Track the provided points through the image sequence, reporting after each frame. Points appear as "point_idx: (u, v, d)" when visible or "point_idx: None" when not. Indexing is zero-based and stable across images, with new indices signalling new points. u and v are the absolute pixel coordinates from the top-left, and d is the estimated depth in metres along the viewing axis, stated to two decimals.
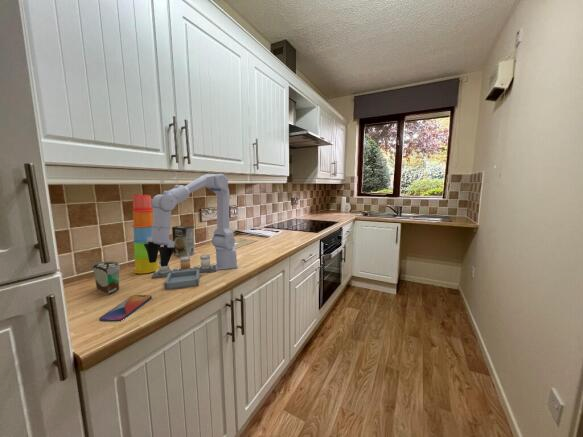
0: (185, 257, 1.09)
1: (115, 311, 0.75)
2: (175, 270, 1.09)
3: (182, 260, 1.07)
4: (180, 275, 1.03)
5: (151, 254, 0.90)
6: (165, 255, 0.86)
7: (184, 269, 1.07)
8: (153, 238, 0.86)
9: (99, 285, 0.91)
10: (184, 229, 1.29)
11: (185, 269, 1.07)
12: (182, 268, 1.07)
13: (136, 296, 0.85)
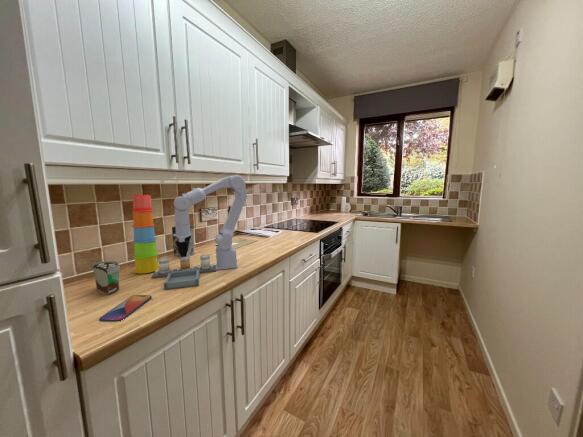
0: (185, 257, 1.09)
1: (115, 311, 0.75)
2: (175, 270, 1.09)
3: (182, 260, 1.07)
4: (180, 275, 1.03)
5: None
6: (182, 247, 1.03)
7: (184, 269, 1.07)
8: (176, 233, 1.05)
9: (99, 285, 0.91)
10: None
11: (185, 269, 1.07)
12: (182, 268, 1.07)
13: (136, 296, 0.85)
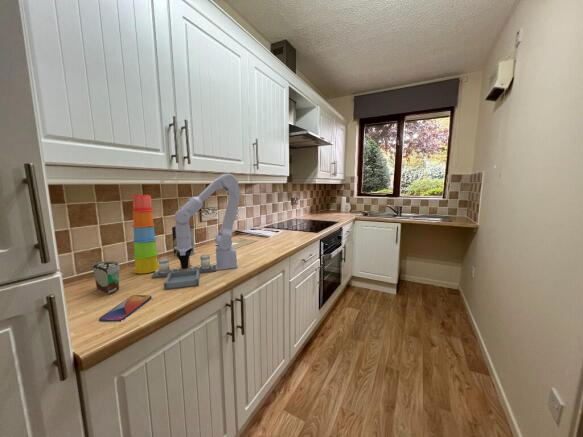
0: None
1: (115, 311, 0.75)
2: (175, 270, 1.09)
3: None
4: (180, 275, 1.03)
5: None
6: (183, 259, 1.06)
7: (184, 269, 1.07)
8: (177, 246, 1.06)
9: (99, 285, 0.91)
10: None
11: (185, 269, 1.07)
12: None
13: (136, 296, 0.85)
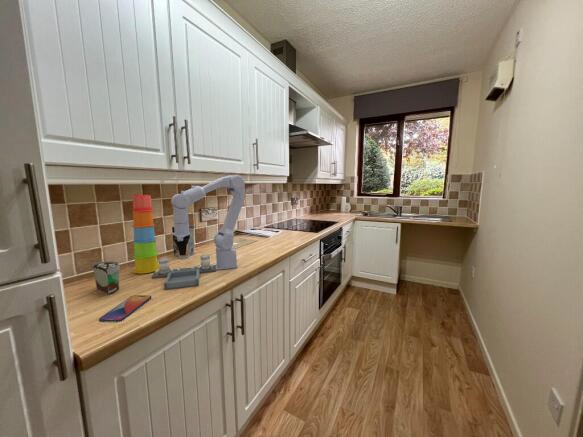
0: None
1: (115, 312, 0.75)
2: (175, 270, 1.09)
3: None
4: (180, 275, 1.03)
5: None
6: (181, 246, 1.01)
7: (182, 256, 1.03)
8: None
9: (99, 285, 0.91)
10: None
11: (183, 256, 1.03)
12: None
13: (135, 296, 0.85)
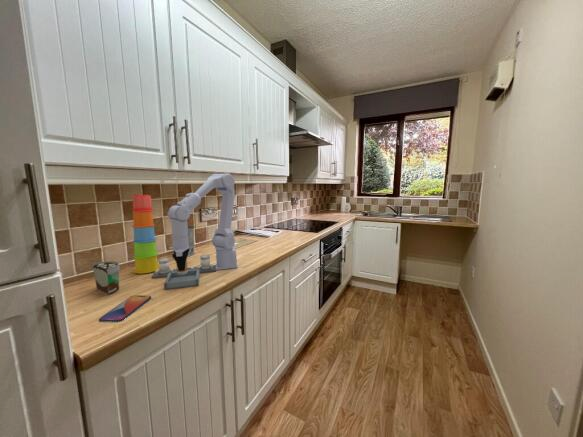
0: None
1: (115, 312, 0.75)
2: (175, 270, 1.09)
3: None
4: (180, 275, 1.03)
5: None
6: (180, 261, 0.95)
7: (181, 272, 0.96)
8: (173, 246, 0.96)
9: (99, 285, 0.91)
10: None
11: (182, 272, 0.97)
12: (178, 270, 0.96)
13: (135, 296, 0.85)
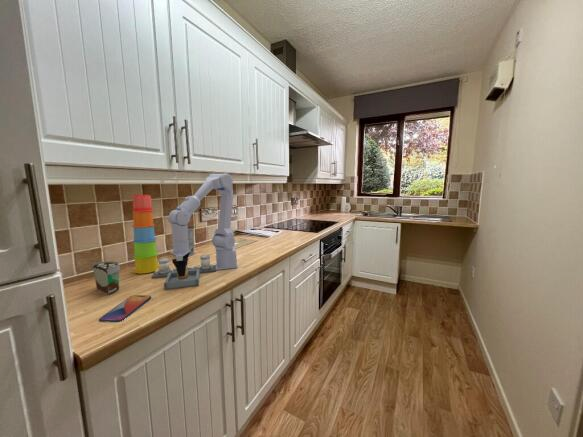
0: None
1: (115, 312, 0.75)
2: (175, 270, 1.09)
3: None
4: None
5: None
6: (180, 266, 0.94)
7: (181, 279, 0.97)
8: (173, 250, 0.96)
9: (99, 285, 0.91)
10: None
11: (182, 279, 0.97)
12: (179, 278, 0.97)
13: (135, 296, 0.85)
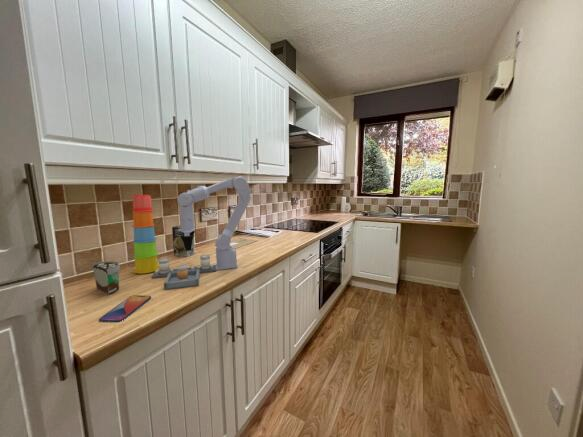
0: (182, 266, 0.98)
1: (115, 312, 0.75)
2: (175, 270, 1.09)
3: (179, 269, 0.96)
4: None
5: None
6: (187, 242, 1.08)
7: (181, 279, 0.97)
8: None
9: (99, 285, 0.91)
10: None
11: (182, 279, 0.97)
12: (179, 278, 0.97)
13: (135, 296, 0.85)
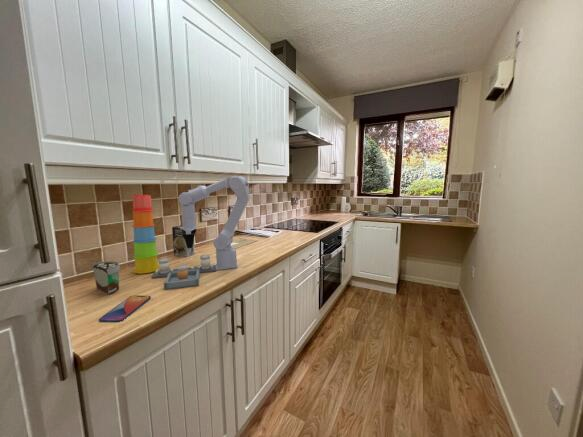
0: (182, 266, 0.98)
1: (115, 312, 0.75)
2: (175, 270, 1.09)
3: (179, 269, 0.96)
4: None
5: None
6: (188, 240, 1.11)
7: (181, 279, 0.97)
8: None
9: (99, 285, 0.91)
10: None
11: (182, 279, 0.97)
12: (179, 278, 0.97)
13: (135, 296, 0.85)
